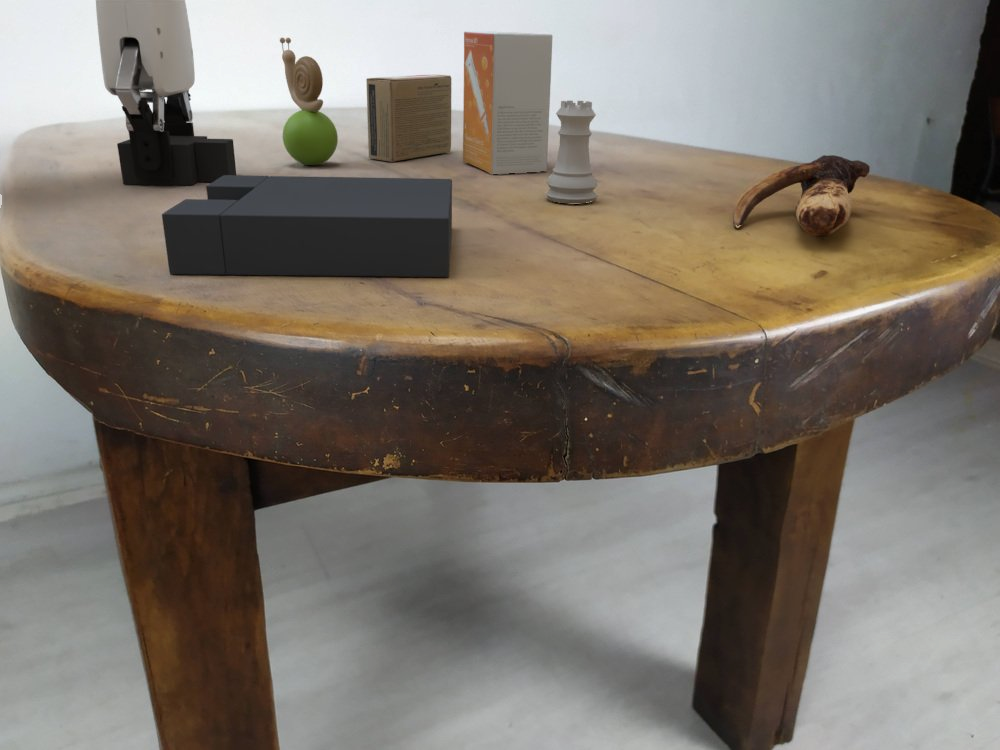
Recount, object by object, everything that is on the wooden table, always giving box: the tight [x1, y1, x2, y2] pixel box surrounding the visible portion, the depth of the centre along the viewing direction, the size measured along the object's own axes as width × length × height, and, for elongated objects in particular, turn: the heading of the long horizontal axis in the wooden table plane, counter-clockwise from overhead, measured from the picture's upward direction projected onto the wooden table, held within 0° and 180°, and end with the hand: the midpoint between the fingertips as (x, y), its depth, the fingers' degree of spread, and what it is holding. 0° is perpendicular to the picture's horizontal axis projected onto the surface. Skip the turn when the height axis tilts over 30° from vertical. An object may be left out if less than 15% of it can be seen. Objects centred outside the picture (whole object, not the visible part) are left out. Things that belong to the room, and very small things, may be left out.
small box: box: [462, 31, 553, 176], centre depth 84 cm, size 8×6×13 cm
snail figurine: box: [279, 37, 339, 166], centre depth 83 cm, size 5×6×12 cm
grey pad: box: [161, 174, 453, 278], centre depth 53 cm, size 16×13×4 cm
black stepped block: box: [116, 135, 237, 186], centre depth 75 cm, size 9×6×4 cm
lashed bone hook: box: [732, 154, 871, 237], centre depth 64 cm, size 9×5×18 cm
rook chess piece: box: [544, 100, 598, 204], centre depth 69 cm, size 4×4×8 cm
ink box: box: [365, 74, 452, 163], centre depth 91 cm, size 10×4×8 cm, turn 144°
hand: (167, 170), depth 75 cm, fingers closed on black stepped block, 6 cm apart
